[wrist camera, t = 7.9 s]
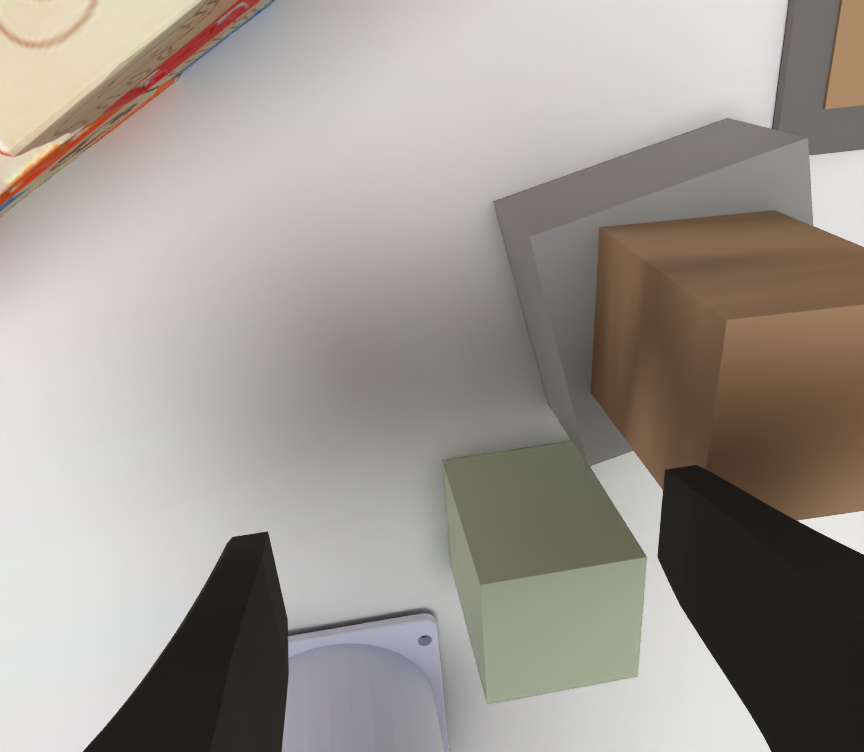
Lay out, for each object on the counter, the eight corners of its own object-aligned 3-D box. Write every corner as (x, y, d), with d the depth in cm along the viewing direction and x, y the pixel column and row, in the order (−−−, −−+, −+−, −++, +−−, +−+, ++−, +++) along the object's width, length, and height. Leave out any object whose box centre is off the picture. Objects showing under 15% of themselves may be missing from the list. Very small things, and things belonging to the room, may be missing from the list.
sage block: (571, 544, 27) (637, 676, 21) (450, 564, 26) (487, 704, 21) (572, 440, 25) (646, 557, 19) (442, 459, 24) (480, 585, 19)
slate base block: (745, 329, 24) (822, 382, 20) (545, 400, 24) (588, 466, 20) (721, 116, 21) (808, 137, 17) (490, 199, 21) (529, 236, 17)
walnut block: (748, 373, 20) (909, 504, 15) (590, 392, 19) (696, 535, 14) (775, 210, 18) (971, 292, 13) (599, 227, 17) (727, 319, 12)
